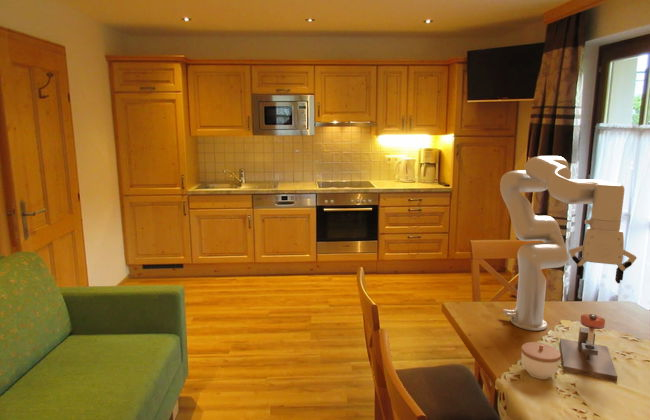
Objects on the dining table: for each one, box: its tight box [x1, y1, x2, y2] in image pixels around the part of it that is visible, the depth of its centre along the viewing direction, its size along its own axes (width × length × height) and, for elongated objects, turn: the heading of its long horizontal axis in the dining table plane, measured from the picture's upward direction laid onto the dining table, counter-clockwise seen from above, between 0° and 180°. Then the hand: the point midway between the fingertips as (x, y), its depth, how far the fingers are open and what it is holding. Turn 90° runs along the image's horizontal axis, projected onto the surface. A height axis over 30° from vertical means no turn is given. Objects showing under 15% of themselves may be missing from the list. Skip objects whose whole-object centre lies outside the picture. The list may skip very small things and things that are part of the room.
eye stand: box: [559, 326, 619, 382], centre depth 143 cm, size 14×20×8 cm
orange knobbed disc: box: [579, 313, 606, 360], centre depth 138 cm, size 6×6×14 cm
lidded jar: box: [520, 341, 562, 380], centre depth 135 cm, size 11×11×9 cm
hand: (598, 279), depth 135 cm, fingers open, 9 cm apart
